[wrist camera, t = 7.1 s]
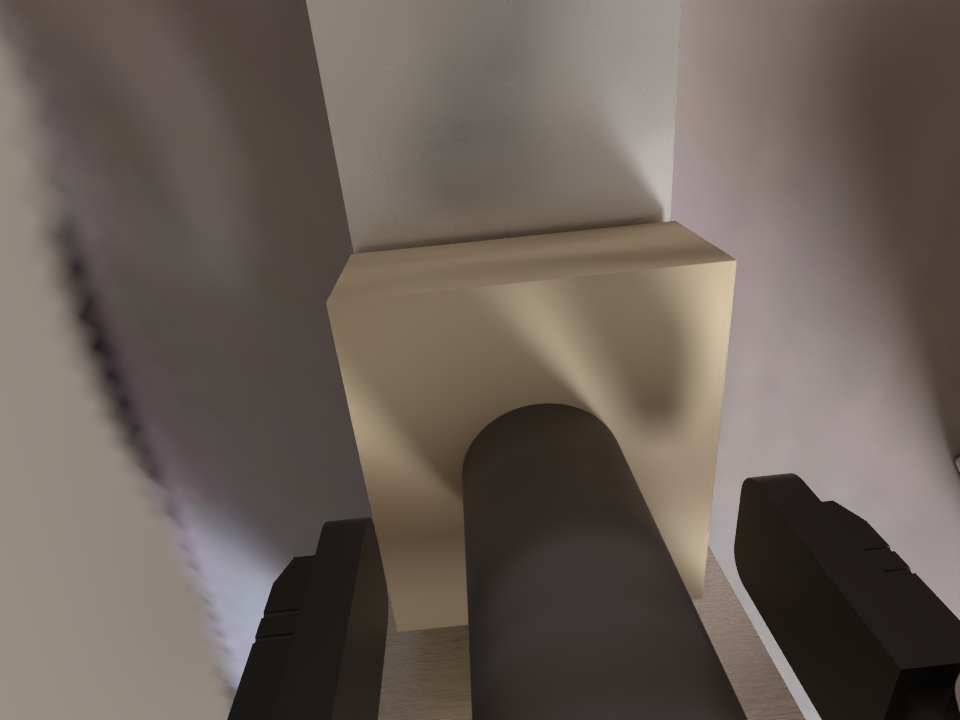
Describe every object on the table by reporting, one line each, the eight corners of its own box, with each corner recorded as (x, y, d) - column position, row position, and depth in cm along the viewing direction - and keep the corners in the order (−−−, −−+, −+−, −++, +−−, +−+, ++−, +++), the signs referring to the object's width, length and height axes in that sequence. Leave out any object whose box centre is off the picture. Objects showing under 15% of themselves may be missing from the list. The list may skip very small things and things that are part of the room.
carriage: (351, 254, 13) (121, 691, 4) (675, 220, 13) (1227, 571, 4) (405, 538, 16) (355, 1119, 7) (659, 511, 16) (925, 1054, 7)
